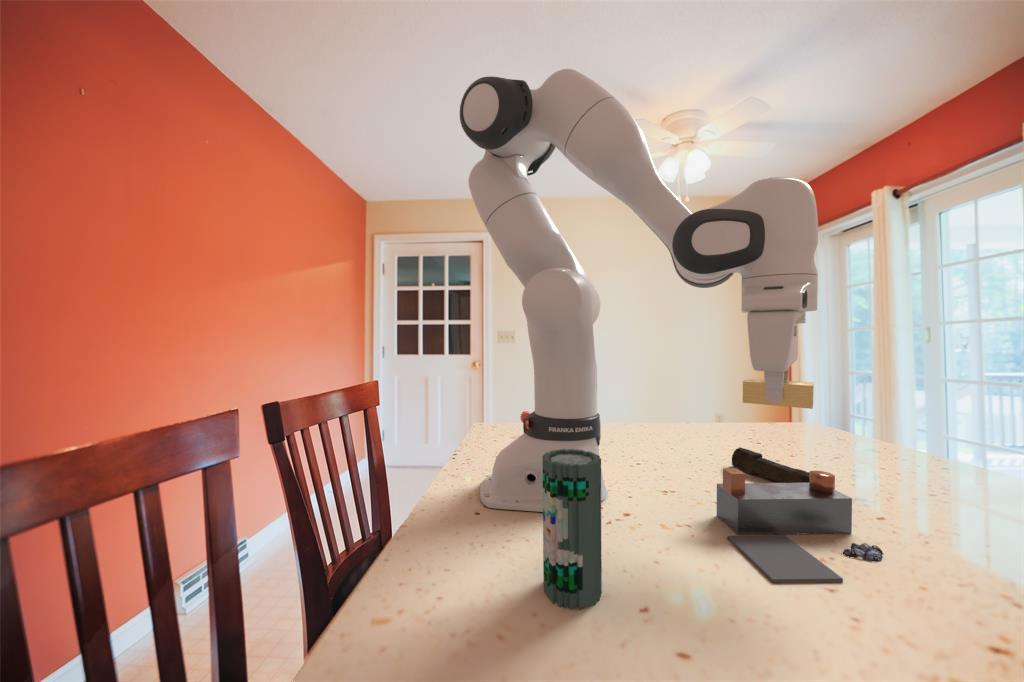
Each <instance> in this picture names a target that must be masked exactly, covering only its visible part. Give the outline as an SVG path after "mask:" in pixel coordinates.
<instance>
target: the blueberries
mask: <svg viewBox="0 0 1024 682" xmlns="http://www.w3.org/2000/svg"><path fill="white" fill-rule="evenodd" d="M850 548H851V549H850ZM842 552H843V554H845V555H846V557H847V556H849V557H848V558H850V557H854V558H853V559H855V558H858V559H857V560H859V559H861V560H860V561H867V562H871V563H874V564H876V563H877V562H879V563H880V562H882V560H883V558H884V557H883V555H884V552H883V550H882V549H881V548H880V547H879V546H877V545H876V544H875V545H870V544H868V543H866V542H863V543H861V544H858V543H855V542H852V543H851V544H850V547H849V548H845V549H843V551H842ZM845 555H844V556H845Z"/></svg>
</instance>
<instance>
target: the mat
mask: <svg viewBox="0 0 1024 682" xmlns="http://www.w3.org/2000/svg"><path fill="white" fill-rule="evenodd" d="M726 539H727V540H728V541H729V542H730V543H731V544H732V545H734V547H735V548H737V549H738V551H739V552H740V553H741V554H742V555H743V556H745V557H746V558H747V560H748V561H750V562H751V563H752V564H753V565H754V566H755V567H756V568H757V569H758V570H759V571H760V572H761V573H762V574H763V575H764V576H765V577H766V578H767V579H768V580H769V581H770V582H771V583H773V584H776V583H777V584H781V583H785V584H786V583H843V582H844V578H843V577H842V576H840V575H839V574H838V573H836V572H835V571H834V570H833V569H831V568H830V567H828V566H827V565H826V564H824V563H823V562H822V561H820V560H819V559H818V558H817V557H815V556H814V555H813V554H811V553H810V552H809V551H807V550H806V549H805V548H803V547H802V546H800V545H799V544H798V543H797V542H795V541H794V540H792V539H791V538H790V537H788V536H787V534H760V535H727V536H726Z"/></svg>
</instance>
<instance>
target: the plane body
mask: <svg viewBox="0 0 1024 682" xmlns="http://www.w3.org/2000/svg"><path fill="white" fill-rule="evenodd" d="M808 472H809V483H780V482H753V483H752V482H751V483H750V482H749V483H748V482H747V483H746V473H745V472H743V471H741V470H739V469H737V468H735V467H727V468H726V467H723V468H722V483H716V516H717V517H718V519H720V520H721V521H722V522H723V523H724V524H725V525H726V526H728V527H729V528H730V529H731V530H732V531H733V532H734V533H735V534H736V536H738V535H739V534H740V535H746V534H760V535H802V534H801V533H826V534H825V535H828V534H827V533H831V534H832V533H852V529H853V528H852V527H853V526H852V525H853V524H852V523H853V522H852V521H853V517H852V516H853V497H851V496H848V495H847V494H844V493H842V492H840V491H838V490H836V489H835V487H836V477H835V474H833V473H830V472H827V471H822V470H810V471H808ZM798 533H799V534H798ZM831 534H830V535H831ZM832 535H833V534H832Z"/></svg>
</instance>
